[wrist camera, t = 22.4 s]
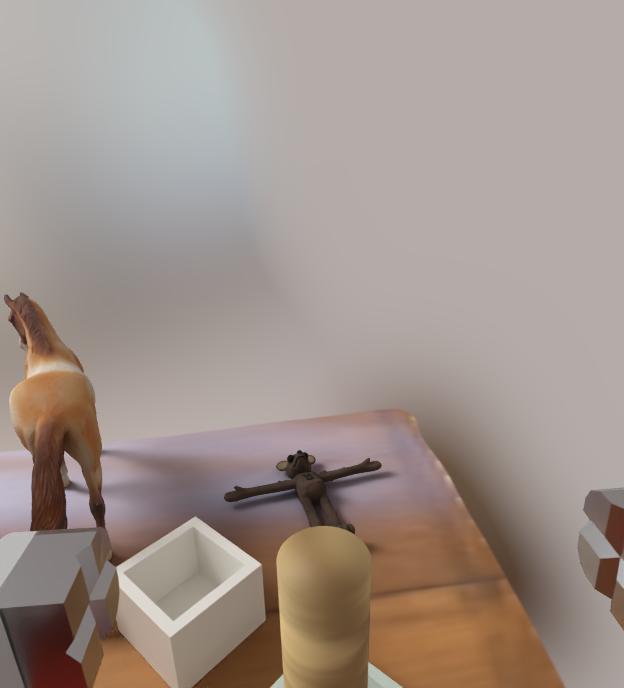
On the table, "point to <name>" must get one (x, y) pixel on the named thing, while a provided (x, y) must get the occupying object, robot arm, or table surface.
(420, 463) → the table surface
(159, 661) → the white square box
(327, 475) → the bear figurine
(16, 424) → the horse figurine
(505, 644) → the table surface
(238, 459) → the table surface
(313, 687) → the dowel
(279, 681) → the tray
